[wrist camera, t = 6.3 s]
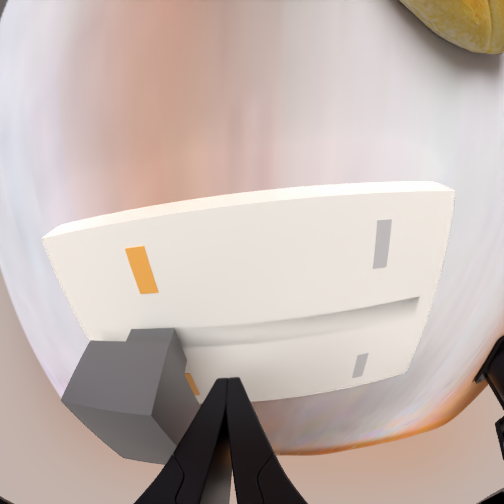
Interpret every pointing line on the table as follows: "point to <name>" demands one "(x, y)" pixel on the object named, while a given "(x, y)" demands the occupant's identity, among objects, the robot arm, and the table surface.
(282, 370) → the fader panel
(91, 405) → the fader knob
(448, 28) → the bread roll
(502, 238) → the table surface
